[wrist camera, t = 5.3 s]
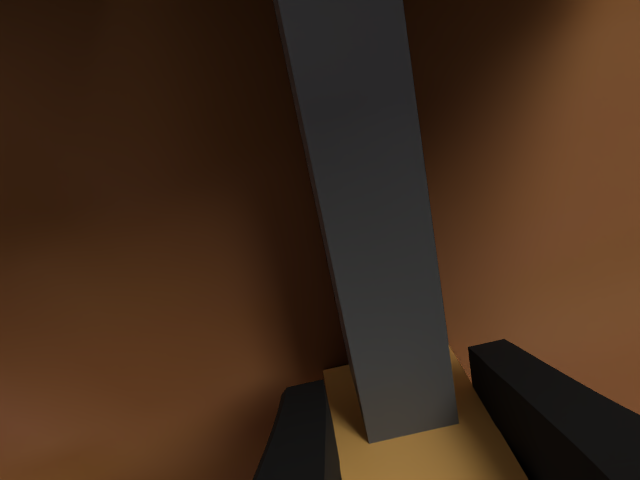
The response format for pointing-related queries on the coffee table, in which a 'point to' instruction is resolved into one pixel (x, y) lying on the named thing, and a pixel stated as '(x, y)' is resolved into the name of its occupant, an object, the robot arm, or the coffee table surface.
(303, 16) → the plug
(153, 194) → the coffee table surface
